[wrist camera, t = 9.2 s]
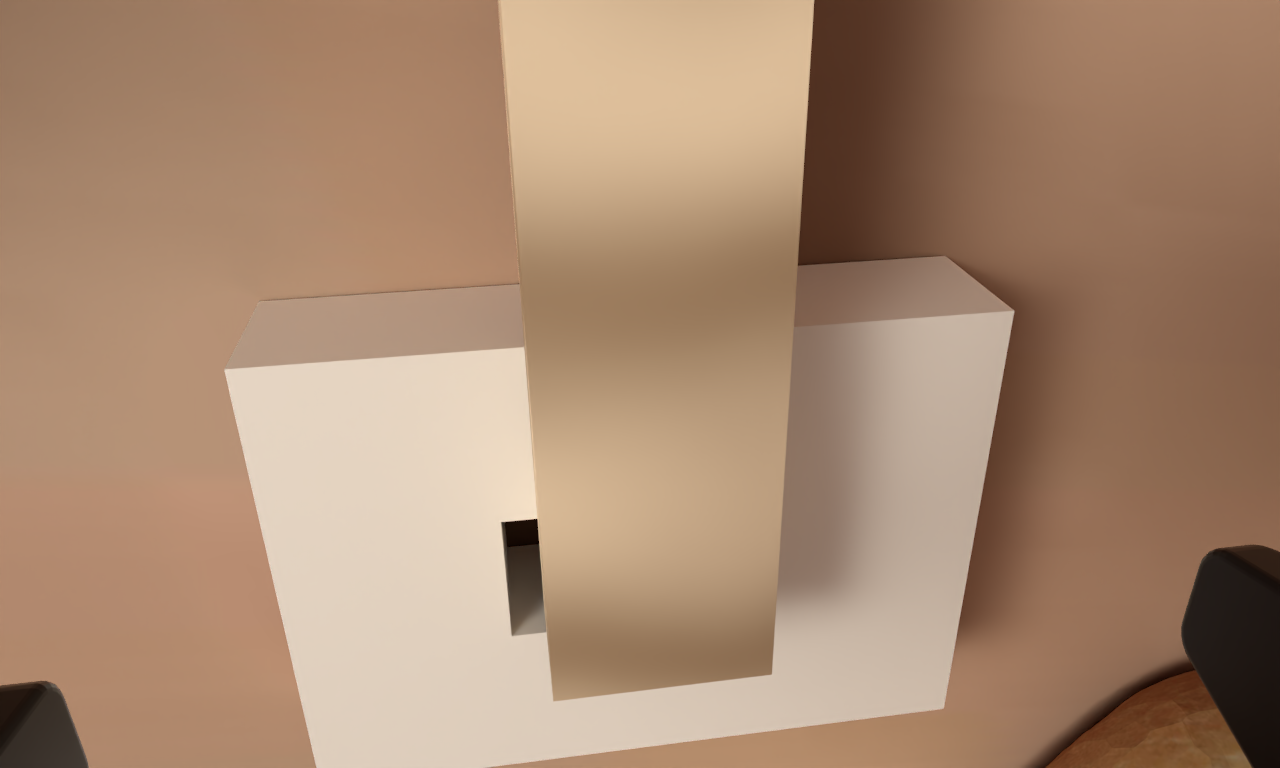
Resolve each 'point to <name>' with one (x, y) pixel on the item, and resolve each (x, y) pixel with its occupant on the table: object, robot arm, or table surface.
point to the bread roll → (1159, 732)
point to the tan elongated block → (657, 323)
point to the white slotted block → (505, 491)
